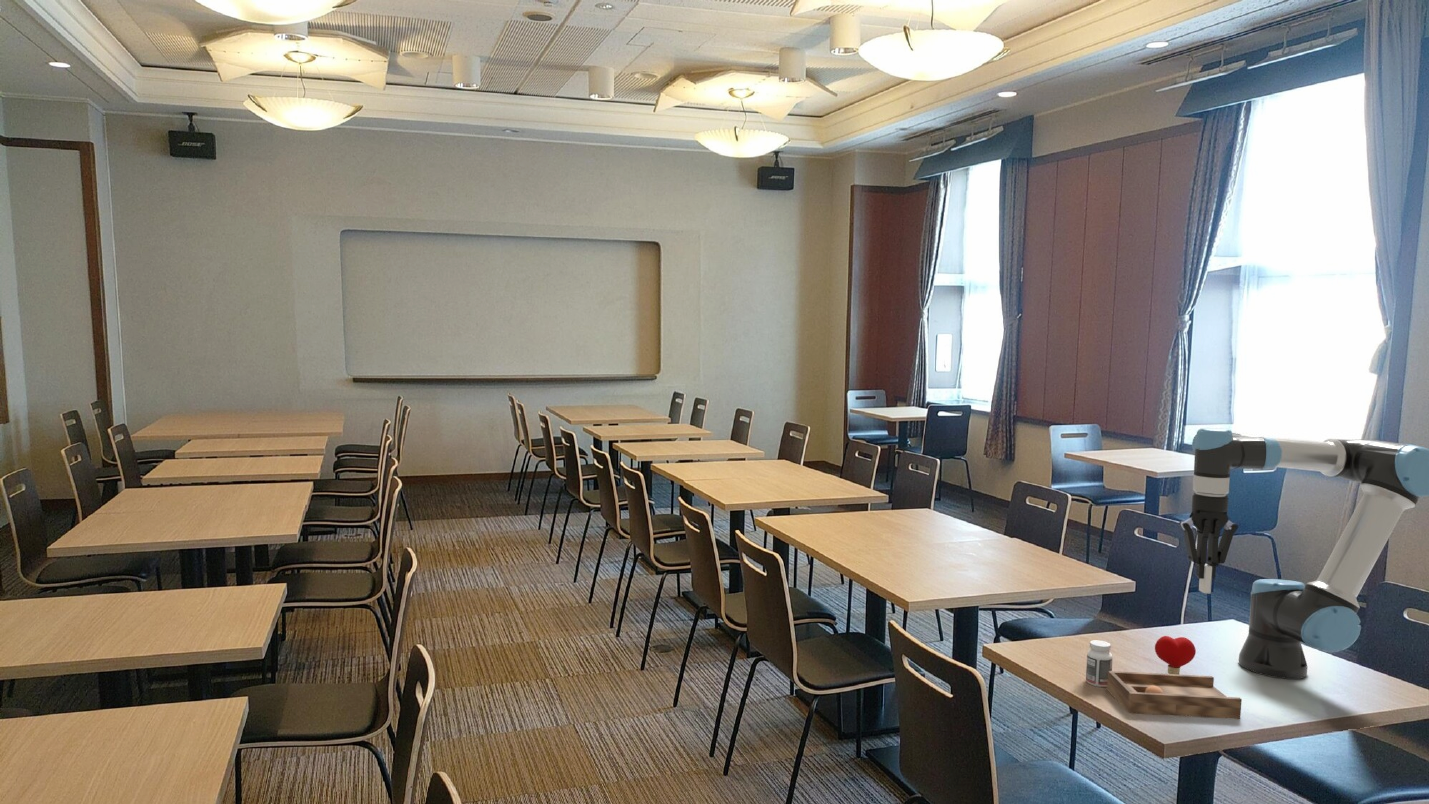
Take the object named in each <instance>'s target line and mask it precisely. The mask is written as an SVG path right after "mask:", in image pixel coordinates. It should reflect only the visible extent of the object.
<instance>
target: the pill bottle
mask: <svg viewBox="0 0 1429 804" xmlns="http://www.w3.org/2000/svg"><path fill="white" fill-rule="evenodd" d="M1089 648H1090V649H1089V650H1088V651H1087V653H1086V671H1085V681H1086V683H1088V684H1089V685H1091V686H1094V687H1098V688H1107V679H1108V671H1113V654H1112V653H1111V652H1110V651H1111V649H1112V645H1111V643H1110V642H1107V641H1105V640H1096V639H1094V640H1093V639H1092V640H1090V642H1089Z"/></svg>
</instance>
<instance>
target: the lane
mask: <svg viewBox="0 0 1429 804" xmlns="http://www.w3.org/2000/svg"><path fill="white" fill-rule="evenodd" d="M1214 680H1215V678H1214V677H1213V676H1211V675H1197V674H1196V675H1195V674H1192V675H1191V674H1180V673H1179V674H1168V673H1159V672H1157V673H1153V672H1141V671H1140V672H1138V671H1134V672H1133V671H1120V670H1112V671H1108V679H1107V687H1106V690H1107V691H1108V692H1109V694H1110V695H1112V696H1113V698H1115V700H1116V701H1117V702H1119V704H1120V705H1121V706H1122V707H1123V708H1124V709H1125V710H1126V711H1127V713H1129V714H1139V715H1154V716H1155V715H1157V716H1159V715H1161V716H1174V717H1175V716H1177V717H1195V718H1197V717H1198V718H1213V719H1214V718H1215V719H1229V720H1230V719H1231V720H1232V719H1234V720H1240V719H1241V715H1242V713H1241V712H1242V698H1240V697H1237V696H1235V697H1233V696H1227V695H1225V694H1224V693H1223V692H1222V691H1220V690H1219V689H1218V688H1217V687H1215V686H1214ZM1149 686H1157V687H1159V688H1160V689H1161V690H1162V691H1163V693H1164V694H1162V693H1145V690H1146V688H1148V687H1149Z"/></svg>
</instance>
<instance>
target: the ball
mask: <svg viewBox="0 0 1429 804" xmlns="http://www.w3.org/2000/svg"><path fill="white" fill-rule="evenodd" d="M1145 693H1162V694H1164V693H1163V691H1162V690H1161V689H1160V688H1159V687H1157V686H1149V687H1148V688H1146V690H1145Z"/></svg>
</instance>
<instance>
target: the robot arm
mask: <svg viewBox="0 0 1429 804" xmlns="http://www.w3.org/2000/svg"><path fill="white" fill-rule="evenodd" d="M1191 447H1192V452H1193V453H1194V465H1193V481H1192V482H1193V483H1192V491H1193V492H1194V493H1193V494H1192V495H1191V499H1192V500H1191V513H1190V514H1189V518H1187V519H1185V520H1181V521H1179V523H1178V525H1179V526H1180V528H1181V530H1182V533H1183V537H1184V543H1185V547H1186V553H1187V557H1188V560H1189V561H1191V562H1193V563H1195V564H1196V571H1195V572H1196V573H1195V576H1196V578H1198V579H1199V581H1198V591H1199V592H1201V593H1203V594H1211V593H1212V592H1211V591H1212V580H1215V578H1216V568H1217V567H1219V565H1220V564H1221V565H1222V564H1225V562H1226V559H1227V556H1228V554H1229V550H1230V547H1231V544H1232V540H1233V536H1234V534H1235V533H1236V532H1237V530H1238V529H1239V525H1238V524H1236V523H1234V522H1233V521H1231V520H1230V519H1229V516H1228V510H1229V497H1228V494H1230V477H1231V470H1236V469H1239V470H1240V469H1241V470H1242V469H1243V470H1246V469H1247V470H1268V469H1269V470H1270V469H1274V468H1280V469H1281V468H1282V469H1292V470H1302V471H1303V470H1304V471H1312V472H1320V473H1321V474H1322V475H1324V476H1326V477H1333V478H1339V479H1343V480H1348V481H1351V482H1354V483H1358V484H1359V487H1360V489H1361V491H1362V494H1363V495H1362V497H1361V498H1360V499H1359V502H1358V504H1357V506H1356V508H1355V509H1354V511H1353V513H1352V515H1351V517H1350V518H1349V521H1348V522H1347V524H1346V526H1345V528H1344V530H1343V531H1342V533H1341V535H1340V537H1339V538H1338V541H1337V542H1336V544H1335V546H1334V548H1333V550H1332V552H1331V554H1330V556H1329V557H1328V559H1327V561H1326V563H1325V564H1324V566H1323V569H1322V570H1321V572H1320V574H1319V576H1318V577H1317V579H1316V580H1314V581H1309V582H1306V584H1305V583H1303V582H1301V581H1298V580H1297V581H1295V580H1289V579H1278V578H1277V579H1276V578H1264V579H1263V578H1261V579H1256V580H1255V581H1254V582H1252V587H1251V592H1250V607H1249V621H1248V624H1249V625H1248V635H1247V636H1246V640H1245V641H1244V643H1243V645H1242V647H1241V650H1240V652H1239V654H1238V664H1239V665H1240V666H1241V667H1243V668H1245V669H1246V670H1248V671H1251V672H1253V673H1256V674H1258V675H1259V674H1260V675H1262V676H1263V675H1264V676H1267V677H1273V678H1278V679H1287V680H1291V679H1294V680H1296V679H1297V680H1298V679H1303V678H1305V677H1307V675H1308V663H1307V660H1306V656H1305V652H1304V650H1303V647H1302V643H1304V644H1305V645H1306V646H1308V647H1310V648H1312V649H1316V650H1320V651H1323V652H1326V653H1338V652H1340V651H1344V650H1347V649H1349V648H1350V647H1351V646H1352V645H1354V643H1355V642H1356V641H1357V640H1358V638H1359V636H1360V633H1361V631H1362V630H1361V629H1362V626H1361V625H1360V624H1361V618H1360V617H1359V615H1358V614H1357V613H1358V612H1359V610H1360V604H1359V601H1358V600H1357V597H1358V595H1359V594H1360V592H1361V590H1362V588H1363V587H1364V584H1365V583H1366V581H1367V578H1368V577H1369V575H1370V573H1371V572H1372V570H1373V568H1374V567H1375V564H1376V562H1377V560H1378V559H1379V557H1380V555H1381V553H1382V551H1383V549H1384V547H1385V546H1386V544H1387V542H1388V540H1389V538H1390V537H1391V534H1392V533H1393V531H1394V529H1395V527H1396V525H1397V524H1398V522H1399V520H1400V518H1401V516H1402V514H1403V513H1404V511H1406V510H1408V509H1412V508H1415V507H1416V505H1417V503H1418V501H1419V499H1420V498H1424V497H1429V448H1427V447H1424V446H1420V445H1415V444H1413V443H1402V442H1401V443H1400V442H1392V441H1387V440H1380V439H1379V440H1378V439H1339V438H1338V439H1337V438H1327V439H1325V440H1323V441H1320V440H1319V441H1317V440H1316V441H1315V440H1308V439H1307V440H1306V439H1297V438H1290V437H1289V438H1287V437H1276V436H1269V435H1260V434H1259V435H1257V434H1247V433H1246V434H1245V433H1235V432H1232V430H1230V429H1229V428H1221V427H1220V428H1218V427H1202V428H1200V429H1198V430H1197V431H1196V434H1195V436H1194V437H1193V438H1192V441H1191ZM1193 526H1194V527H1195V529H1196V536H1197V537H1196V542H1195V535H1194V532H1193ZM1223 528H1224V529H1223ZM1222 529H1223V531H1222ZM1221 531H1222V534H1221ZM1220 536H1221V538H1220ZM1219 540H1220V541H1219Z"/></svg>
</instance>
